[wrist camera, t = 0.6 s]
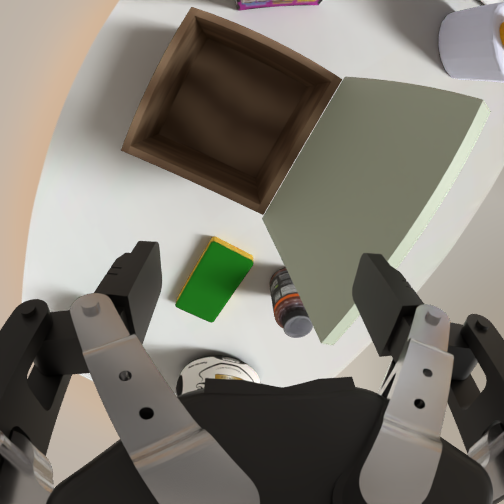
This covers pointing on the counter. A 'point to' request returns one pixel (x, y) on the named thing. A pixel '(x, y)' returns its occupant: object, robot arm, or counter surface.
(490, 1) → the salad plate
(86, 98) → the counter surface
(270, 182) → the walnut box
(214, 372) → the milk container
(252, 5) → the candy bar box
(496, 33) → the soap bottle
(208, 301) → the dish sponge
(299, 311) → the supplement bottle
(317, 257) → the lid
